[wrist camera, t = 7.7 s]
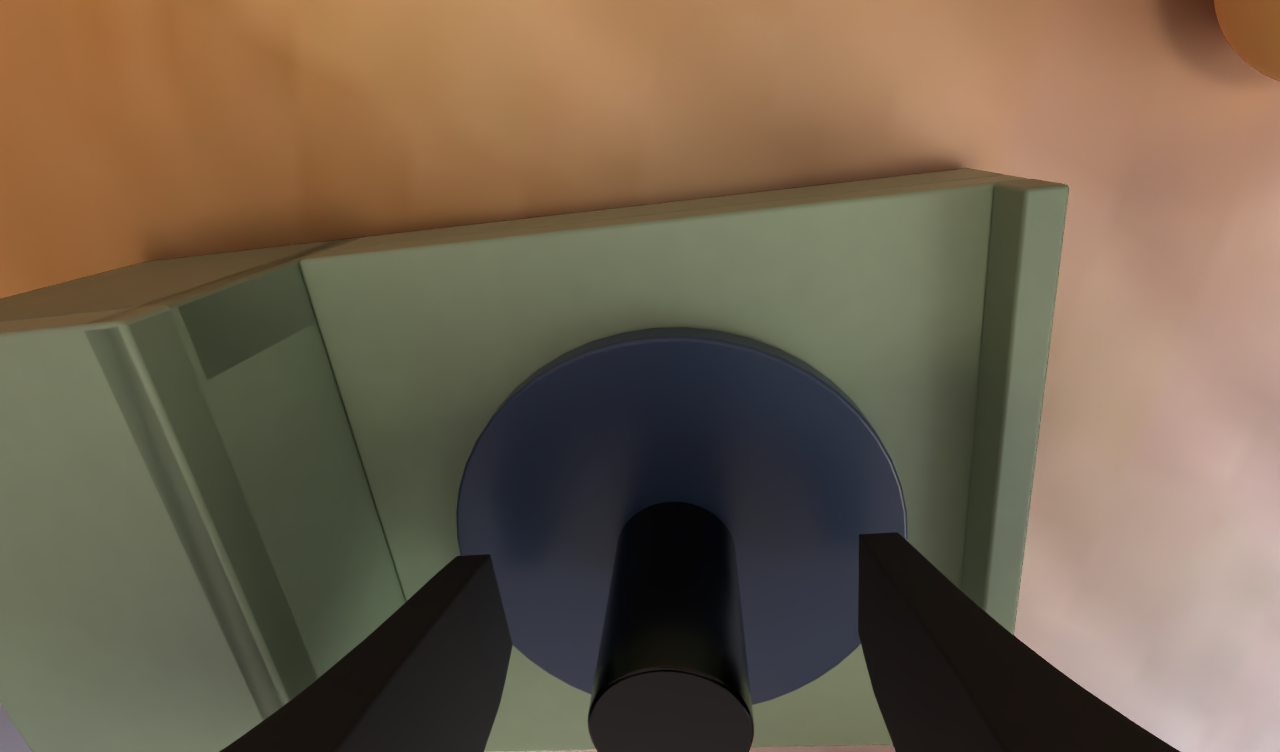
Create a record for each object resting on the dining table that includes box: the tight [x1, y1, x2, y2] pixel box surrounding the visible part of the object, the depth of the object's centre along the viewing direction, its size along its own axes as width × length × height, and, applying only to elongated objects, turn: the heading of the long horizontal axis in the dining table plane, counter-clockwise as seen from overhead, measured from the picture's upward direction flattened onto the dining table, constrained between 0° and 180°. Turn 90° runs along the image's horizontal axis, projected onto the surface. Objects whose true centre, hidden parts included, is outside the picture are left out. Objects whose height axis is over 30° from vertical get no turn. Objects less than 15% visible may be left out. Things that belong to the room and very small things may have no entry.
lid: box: [456, 327, 908, 752], centre depth 10 cm, size 8×8×4 cm
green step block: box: [0, 168, 1069, 752], centre depth 12 cm, size 17×12×6 cm
